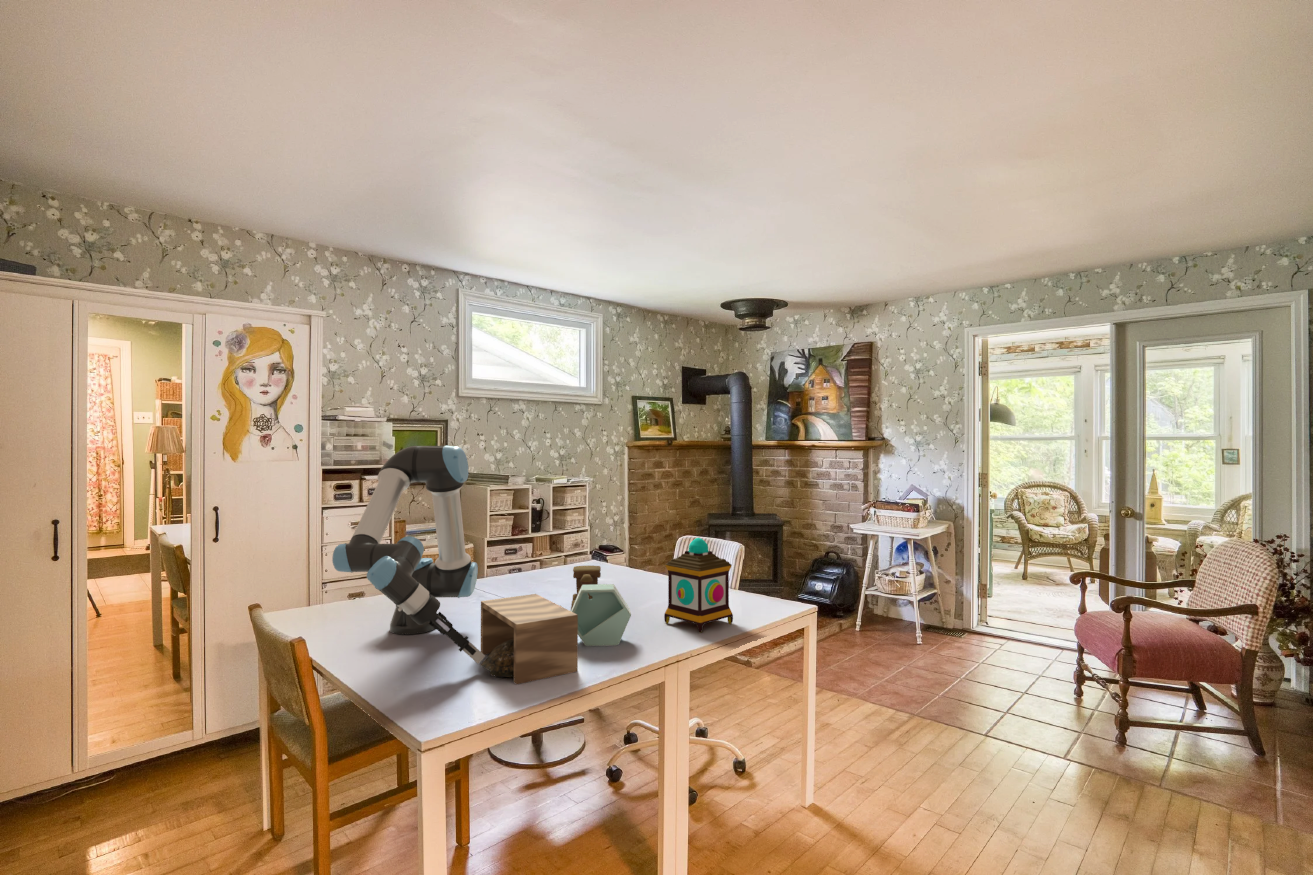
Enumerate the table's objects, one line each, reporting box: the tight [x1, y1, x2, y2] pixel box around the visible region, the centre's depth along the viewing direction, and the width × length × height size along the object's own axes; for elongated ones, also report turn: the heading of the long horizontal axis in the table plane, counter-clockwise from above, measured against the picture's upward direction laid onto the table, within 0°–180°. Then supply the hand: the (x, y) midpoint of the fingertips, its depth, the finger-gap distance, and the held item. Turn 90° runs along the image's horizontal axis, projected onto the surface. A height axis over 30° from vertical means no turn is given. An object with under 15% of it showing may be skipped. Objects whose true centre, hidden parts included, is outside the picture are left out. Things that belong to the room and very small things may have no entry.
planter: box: [570, 583, 632, 647], centre depth 198 cm, size 17×8×21 cm
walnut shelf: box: [480, 593, 579, 685], centre depth 180 cm, size 30×18×16 cm, turn 33°
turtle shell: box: [479, 639, 514, 678], centre depth 174 cm, size 16×9×20 cm
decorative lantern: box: [663, 537, 734, 634], centre depth 220 cm, size 20×20×30 cm
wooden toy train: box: [570, 565, 602, 611], centre depth 230 cm, size 20×11×17 cm, turn 5°
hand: (481, 659), depth 172 cm, fingers closed
